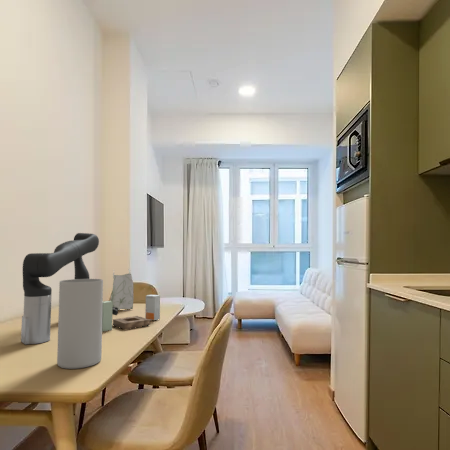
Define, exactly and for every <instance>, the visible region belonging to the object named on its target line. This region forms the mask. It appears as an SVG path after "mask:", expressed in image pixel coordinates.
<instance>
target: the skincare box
mask: <svg viewBox="0 0 450 450" xmlns="http://www.w3.org/2000/svg"><path fill="white" fill-rule="evenodd" d="M144 313H145V317H144V318H146V319H149V320H150V321H151V320H157V321H159V320H158V319H161V295H159V294H147V295H145V312H144Z"/></svg>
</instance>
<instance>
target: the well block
mask: <svg viewBox="0 0 450 450" xmlns="http://www.w3.org/2000/svg"><path fill="white" fill-rule="evenodd" d="M150 324H151V320H149V319H146V318H145V317H142V316H140V315H139V316H138V315H133V316H127V317H121V318H120V317H119V318H114V319H113V318H112V326H113V325H114V326H113V327H115V326H117V327H116V328H118V327H120V328H119V329H121V328H123V329H128V330H131V329H130V328H134V329H136V328H135V327H140V328H142V327H141V326H146V327H148V326H147V325H150ZM123 329H122V330H123Z"/></svg>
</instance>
